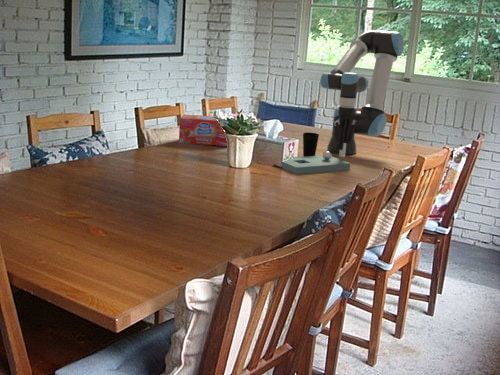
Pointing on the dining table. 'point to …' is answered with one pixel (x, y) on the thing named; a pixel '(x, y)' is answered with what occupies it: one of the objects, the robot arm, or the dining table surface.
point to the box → (201, 130)
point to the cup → (310, 144)
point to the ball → (326, 155)
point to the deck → (314, 164)
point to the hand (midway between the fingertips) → (342, 156)
